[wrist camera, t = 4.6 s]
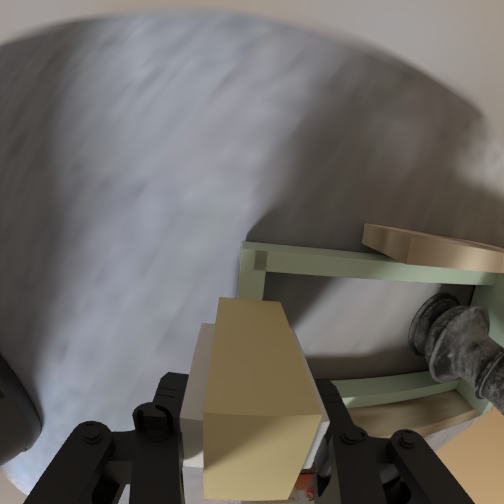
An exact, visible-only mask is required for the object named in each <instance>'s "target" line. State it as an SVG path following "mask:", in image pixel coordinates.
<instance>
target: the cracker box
mask: <svg viewBox="0 0 504 504" xmlns="http://www.w3.org/2000/svg"><path fill="white" fill-rule="evenodd" d="M313 475H314V474H299V476H298V478H297V480H296V482H295V485H294V487H293V489H292V491H291V493H290V495H289V497H288V500H269V501H237V500H229V504H314V483H313V485H312V487H311V488H308V487H309V483H310V481H311V479H312V477H313Z"/></svg>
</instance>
